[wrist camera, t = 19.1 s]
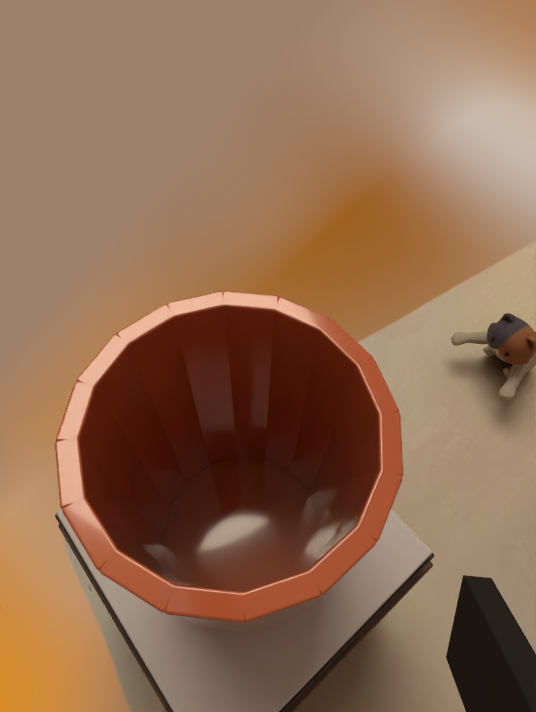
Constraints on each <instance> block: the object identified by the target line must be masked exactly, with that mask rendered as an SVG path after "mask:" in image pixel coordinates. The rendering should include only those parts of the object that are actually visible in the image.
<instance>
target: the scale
mask: <svg viewBox="0 0 536 712" xmlns="http://www.w3.org/2000/svg"><path fill="white" fill-rule="evenodd" d="M55 517H56V519H57V520H58V522H59V524H60V525H61V527H62V529H63V531H64V532H65V534H66V536H67V537H68V539H69V541H70V542H71V544H72V546H73V548H74V549H75V551H76V553H77V554H78V556H79V558H80V559H81V561H82V563H83V565H84V566H85V568H86V570H87V571H88V573H89V575H90V576H91V578H92V580H93V582H94V583H95V585H96V587H97V588H98V590H99V592H100V593H101V595H102V597H103V599H104V600H105V602H106V604H107V605H108V607H109V609H110V610H111V612H112V614H113V616H114V617H115V619H116V621H117V622H118V624H119V626H120V628H121V629H122V631H123V633H124V634H125V636H126V638H127V639H128V641H129V643H130V645H131V646H132V648H133V650H134V651H135V653H136V655H137V656H138V658H139V660H140V662H141V663H142V665H143V667H144V668H145V670H146V672H147V673H148V675H149V677H150V679H151V680H152V682H153V684H154V685H155V687H156V689H157V690H158V692H159V694H160V696H161V697H162V699H163V701H164V702H165V704H166V706H167V707H168V709H169V711H170V712H285V711H286V710H287V709H288V708H289V706H290V705H291V704H292V703H293V702H294V701H295V700H296V699H297V698H298V697H299V696H300V695H301V694H302V693H303V692H304V691H305V690H306V689H307V688H308V687H309V686H310V685H311V684H312V683H313V682H314V681H315V680H316V678H317V677H318V676H319V675H320V674H321V673H322V672H323V671H324V670H325V669H326V668H327V667H328V666H329V665H330V664H331V663H332V662H333V661H334V660H335V659H336V658H337V657H338V656H339V655H340V654H341V653H342V651H343V650H344V649H345V648H346V647H347V646H348V645H349V644H350V643H351V642H352V641H353V640H354V639H355V638H356V637H357V636H358V635H359V634H360V633H361V632H362V631H363V630H364V629H365V628H366V627H367V626H368V625H369V623H370V622H371V621H372V620H373V619H374V618H375V617H376V616H377V615H378V614H379V613H380V612H381V611H382V610H383V609H384V608H385V607H386V606H387V605H388V604H389V603H390V602H391V601H392V600H393V599H394V598H395V597H396V595H397V594H398V593H399V592H400V591H401V590H402V589H403V588H404V587H405V586H406V585H407V584H408V583H409V582H410V581H411V580H412V579H413V578H414V577H415V576H416V575H417V574H418V573H419V572H420V571H421V570H422V568H423V567H424V566H425V565H426V564H427V563H428V562H429V561H430V560H431V559H432V558H433V557H434V554H433V553H432V551H431V550H430V549H429V548H428V547H427V546H426V545H425V543H424V542H423V541H422V540H421V539H420V538H419V537H418V536H417V535H416V534H415V533H414V532H413V531H412V529H411V528H410V527H409V526H408V525H407V524H406V523H405V522H404V521H403V520H402V519H401V518H400V517H399V515H398V514H397V513H396V512H395V511H394V510H393V509H392V508H391V510H390V513H389V515H388V518H387V520H386V523H385V525H384V528H383V531H382V533H381V536H380V538H379V540H378V541H377V542H376V545H375V546H374V547H373V548H372V549H371V550H370V551H369V552H368V553H367V554H366V555H365V556H364V557H363V558H362V559H361V560H360V561H358V562H357V563H356V564H355V565H354V566H353V567H352V568H351V569H350V570H349V571H348V572H347V573H346V574H345V575H344V576H343V577H342V578H341V579H340V580H339V581H338V582H337V583H336V584H335V585H334V586H333V587H332V588H330V589H329V590H328V591H327V592H326V593H325V594H324V595H323V596H321V597H320V598H319V599H317V600H316V601H314V602H313V603H312V604H310V605H309V606H308V607H306V608H305V609H303V610H302V611H301V612H299V613H298V614H296V615H295V616H294V617H292V618H291V619H290V620H288V621H286V622H285V623H282V624H279V625H276V626H273V627H271V628H268V629H265V630H262V631H259V632H256V633H253V634H239V633H229V632H221V631H213V630H210V629H207V628H204V627H201V626H199V625H196V624H193V623H190V622H187V621H185V620H182V619H179V618H176V617H173V616H171V615H168V614H165V613H162V612H160V611H159V610H157V609H155V608H154V607H152V606H151V605H149V604H148V603H146V602H144V601H143V600H141V599H140V598H138V597H137V596H135V595H133V594H132V593H130V592H129V591H127V590H126V589H124V588H122V587H121V586H119V585H118V584H116V583H115V582H113V581H111V580H110V579H108V578H107V577H105V576H104V575H102V574H101V573H100V571H98V570H97V569H96V568H95V566H94V564H93V563H92V561H91V559H90V557H89V556H88V554H87V552H86V551H85V549H84V547H83V546H82V544H81V542H80V541H79V539H78V537H77V536H76V534H75V532H74V531H73V529H72V527H71V526H70V524H69V522H68V521H67V519H66V517H65V516H64V514H63V512H62V509H61V510H60V511H58V512H57V514H56V515H55Z"/></svg>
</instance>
